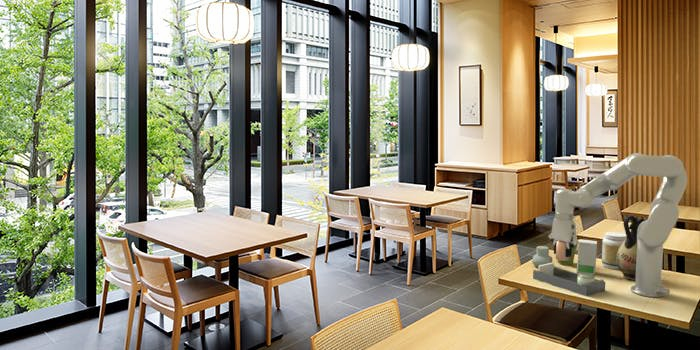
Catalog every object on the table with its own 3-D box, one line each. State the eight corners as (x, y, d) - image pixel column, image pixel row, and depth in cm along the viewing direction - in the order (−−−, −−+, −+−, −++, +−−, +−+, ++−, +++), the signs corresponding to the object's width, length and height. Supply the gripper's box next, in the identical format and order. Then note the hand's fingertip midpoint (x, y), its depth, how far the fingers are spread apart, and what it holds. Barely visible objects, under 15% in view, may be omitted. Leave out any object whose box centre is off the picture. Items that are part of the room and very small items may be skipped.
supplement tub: (620, 263, 259) (621, 231, 258) (633, 270, 247) (635, 236, 245) (596, 263, 259) (598, 231, 258) (609, 270, 247) (610, 237, 245)
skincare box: (576, 272, 244) (577, 241, 243) (577, 269, 250) (578, 238, 248) (595, 275, 240) (596, 243, 239) (596, 271, 246) (597, 240, 244)
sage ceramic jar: (597, 291, 218) (598, 276, 217) (586, 293, 215) (587, 278, 214) (584, 286, 224) (585, 271, 224) (573, 288, 222) (574, 274, 221)
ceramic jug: (631, 271, 246) (634, 211, 242) (660, 280, 231) (664, 216, 228) (605, 275, 240) (607, 214, 236) (633, 285, 225) (636, 220, 222)
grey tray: (605, 290, 219) (605, 279, 218) (586, 296, 212) (586, 284, 212) (551, 274, 243) (551, 264, 242) (533, 278, 237) (533, 268, 236)
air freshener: (536, 262, 263) (537, 244, 262) (553, 264, 258) (553, 246, 257) (531, 267, 254) (531, 248, 253) (548, 270, 249) (548, 250, 248)
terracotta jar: (571, 259, 228) (572, 240, 227) (563, 261, 225) (564, 241, 224) (561, 256, 233) (561, 237, 232) (553, 258, 230) (553, 239, 229)
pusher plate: (553, 275, 240) (553, 263, 239) (539, 278, 235) (540, 266, 234) (544, 272, 244) (545, 260, 244) (531, 275, 239) (531, 263, 239)
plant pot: (579, 262, 262) (579, 241, 261) (575, 268, 252) (576, 246, 251) (555, 259, 268) (555, 238, 267) (551, 264, 258) (551, 243, 257)
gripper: (586, 218, 221) (584, 258, 223) (553, 212, 236) (552, 249, 238) (575, 220, 218) (573, 260, 220) (542, 214, 232) (541, 252, 234)
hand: (562, 254), depth 229 cm, fingers closed on terracotta jar, 5 cm apart
